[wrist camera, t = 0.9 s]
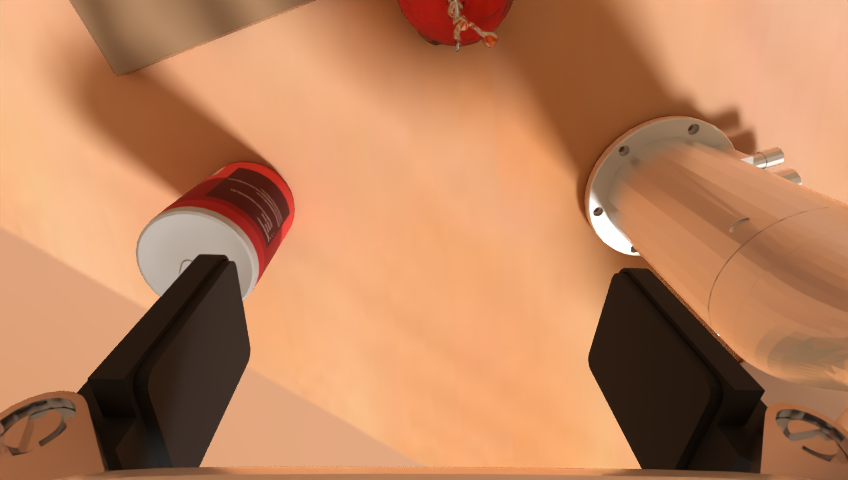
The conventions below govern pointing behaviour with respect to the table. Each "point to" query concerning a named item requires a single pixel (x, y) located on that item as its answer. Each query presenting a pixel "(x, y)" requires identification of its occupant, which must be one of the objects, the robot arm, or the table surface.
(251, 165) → the canned food
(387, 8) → the table surface
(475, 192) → the table surface
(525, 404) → the table surface
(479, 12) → the red clay folk toy
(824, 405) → the cylinder vase
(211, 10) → the shelf board
